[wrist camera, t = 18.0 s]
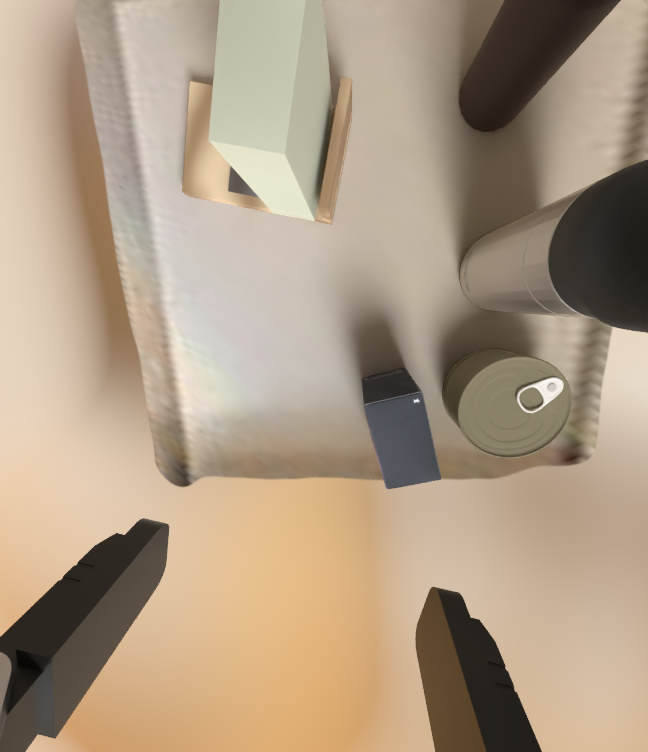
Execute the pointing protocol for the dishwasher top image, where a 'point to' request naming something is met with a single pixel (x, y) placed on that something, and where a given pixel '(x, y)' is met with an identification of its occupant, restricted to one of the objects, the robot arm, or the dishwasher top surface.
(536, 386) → the can
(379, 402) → the small box
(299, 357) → the dishwasher top surface
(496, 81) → the bottle
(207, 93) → the rack
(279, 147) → the book
